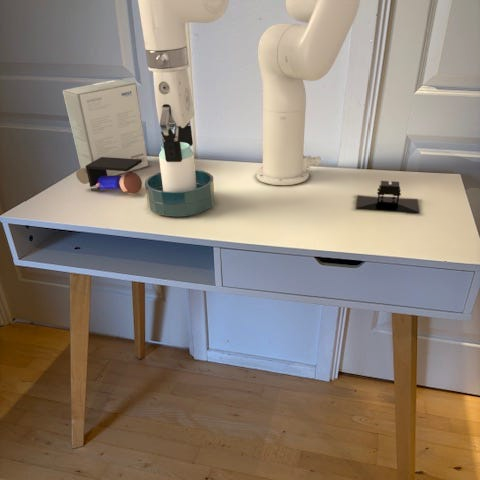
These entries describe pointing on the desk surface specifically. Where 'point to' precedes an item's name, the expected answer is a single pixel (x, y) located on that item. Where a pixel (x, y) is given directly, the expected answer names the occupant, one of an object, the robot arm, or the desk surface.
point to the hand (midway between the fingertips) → (180, 153)
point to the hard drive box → (106, 122)
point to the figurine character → (98, 176)
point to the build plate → (388, 200)
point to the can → (178, 171)
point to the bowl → (180, 196)
